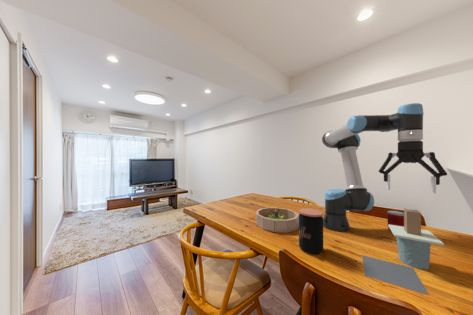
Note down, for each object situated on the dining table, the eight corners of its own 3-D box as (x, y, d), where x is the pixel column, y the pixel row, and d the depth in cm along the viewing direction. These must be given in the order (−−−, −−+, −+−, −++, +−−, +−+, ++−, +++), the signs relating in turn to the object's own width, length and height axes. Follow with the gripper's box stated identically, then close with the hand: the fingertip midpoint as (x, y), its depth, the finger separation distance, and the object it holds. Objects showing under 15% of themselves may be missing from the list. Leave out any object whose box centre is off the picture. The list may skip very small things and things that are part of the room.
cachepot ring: (249, 225, 109) (249, 214, 110) (266, 214, 132) (266, 205, 132) (291, 236, 94) (291, 223, 95) (302, 221, 117) (302, 211, 117)
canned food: (409, 234, 97) (409, 215, 98) (393, 233, 99) (393, 214, 99) (399, 228, 105) (399, 211, 105) (384, 227, 107) (384, 210, 107)
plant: (257, 228, 107) (257, 210, 107) (265, 218, 125) (265, 203, 125) (290, 234, 98) (290, 214, 99) (293, 222, 116) (293, 206, 116)
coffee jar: (295, 244, 86) (295, 208, 86) (315, 243, 87) (315, 207, 87) (305, 256, 75) (305, 215, 76) (328, 254, 76) (328, 214, 76)
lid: (394, 236, 68) (394, 212, 68) (388, 226, 79) (387, 204, 79) (443, 245, 61) (443, 218, 61) (428, 232, 72) (428, 209, 72)
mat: (364, 277, 62) (364, 275, 62) (362, 256, 75) (362, 255, 75) (429, 297, 53) (429, 295, 53) (413, 269, 66) (412, 267, 66)
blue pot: (436, 275, 63) (436, 242, 63) (399, 266, 68) (399, 236, 68) (425, 261, 71) (424, 232, 72) (393, 254, 77) (392, 227, 77)
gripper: (373, 141, 76) (373, 189, 76) (460, 138, 62) (460, 196, 62) (371, 143, 82) (371, 186, 83) (450, 140, 68) (450, 192, 68)
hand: (409, 190), depth 72 cm, fingers open, 13 cm apart
